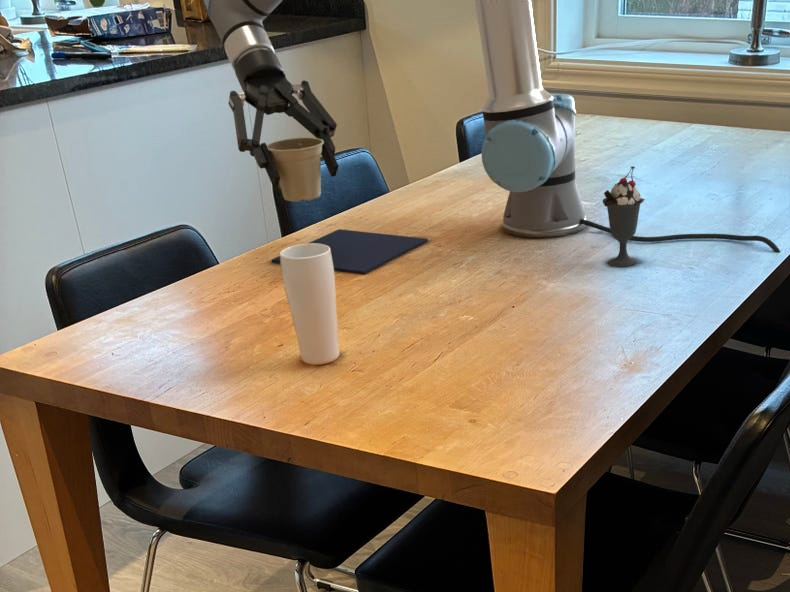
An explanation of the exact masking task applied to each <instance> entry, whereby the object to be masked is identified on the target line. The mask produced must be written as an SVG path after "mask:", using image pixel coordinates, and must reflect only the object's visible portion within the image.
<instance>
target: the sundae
mask: <svg viewBox="0 0 790 592" xmlns="http://www.w3.org/2000/svg"><path fill="white" fill-rule="evenodd" d="M635 168H636V167H635V166H630V169H629V171H628V173H627V174H626V175H625V176H624V177H621V178H620V179H619V181H618V182H616V183H615V184H614V185H613V186H612V188H611V190H610V191H609V189H607V190H605V191H604V192H603V195H604V198H603V199H602V204H603V205H604V207H606V209H607V215H608V225H609V228H610V230H611V233H610V235H611V236H612V237H613V238H614V239H615V240H616V241H617V242H618V243H619V249H618V254H617V256H615V257H612V258H610V259H608V261H607V263H608V265H609V266H611V267H617V268H625V267H632V266H636V265H637V264H638V263H639V260H638V259H637V258H636V257H632V256H630V255H629V253H628V251H627V250H628V247H627V244H628V241H630V240H629V239H631V238H632V237H633V236H635V235H636V231H637V229H638V221H639V213H640V209H641V204H642V203H644V202H645V198H642V197H641V193H640V191H639V190H638V189H637V188H636V181H635V180H634V179H633V172H634V169H635ZM630 173H631V174H630ZM629 175H631V178H630V179H631V180H629V181H628V179H627V177H628V176H629Z"/></svg>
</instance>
